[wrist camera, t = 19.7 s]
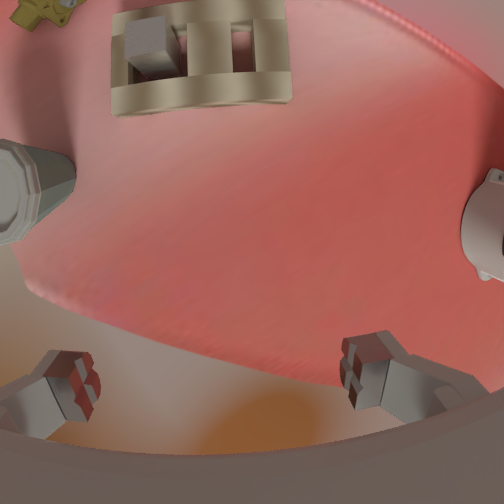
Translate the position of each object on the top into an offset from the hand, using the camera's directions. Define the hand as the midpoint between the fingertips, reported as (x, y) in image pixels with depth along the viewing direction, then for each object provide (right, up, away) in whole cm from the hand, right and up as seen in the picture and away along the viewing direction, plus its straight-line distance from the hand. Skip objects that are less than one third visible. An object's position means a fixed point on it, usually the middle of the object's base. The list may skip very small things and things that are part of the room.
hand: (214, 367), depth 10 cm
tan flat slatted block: (-5, +27, +24) cm, 36 cm away
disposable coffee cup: (-24, +13, +27) cm, 39 cm away
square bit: (-9, +27, +24) cm, 37 cm away
